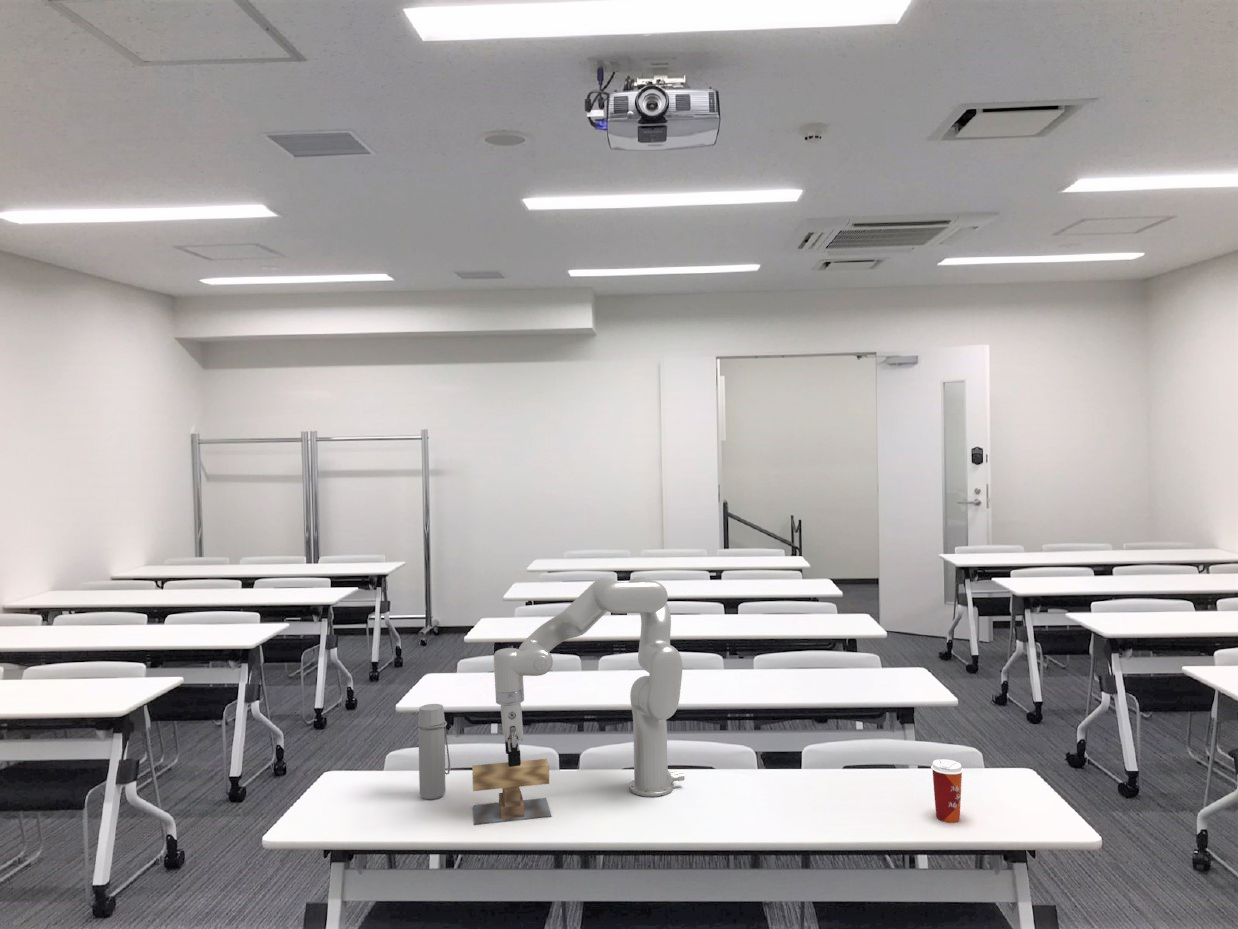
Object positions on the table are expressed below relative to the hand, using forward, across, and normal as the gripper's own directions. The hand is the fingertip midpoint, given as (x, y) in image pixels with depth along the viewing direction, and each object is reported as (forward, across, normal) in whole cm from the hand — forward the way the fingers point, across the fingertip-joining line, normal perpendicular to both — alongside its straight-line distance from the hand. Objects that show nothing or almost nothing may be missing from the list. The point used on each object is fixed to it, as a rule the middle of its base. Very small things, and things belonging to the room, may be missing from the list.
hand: (513, 759), depth 225 cm
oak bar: (+6, 0, +1) cm, 7 cm away
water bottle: (+14, +17, +21) cm, 30 cm away
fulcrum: (+14, 0, +1) cm, 14 cm away
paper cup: (+18, -32, -108) cm, 114 cm away
